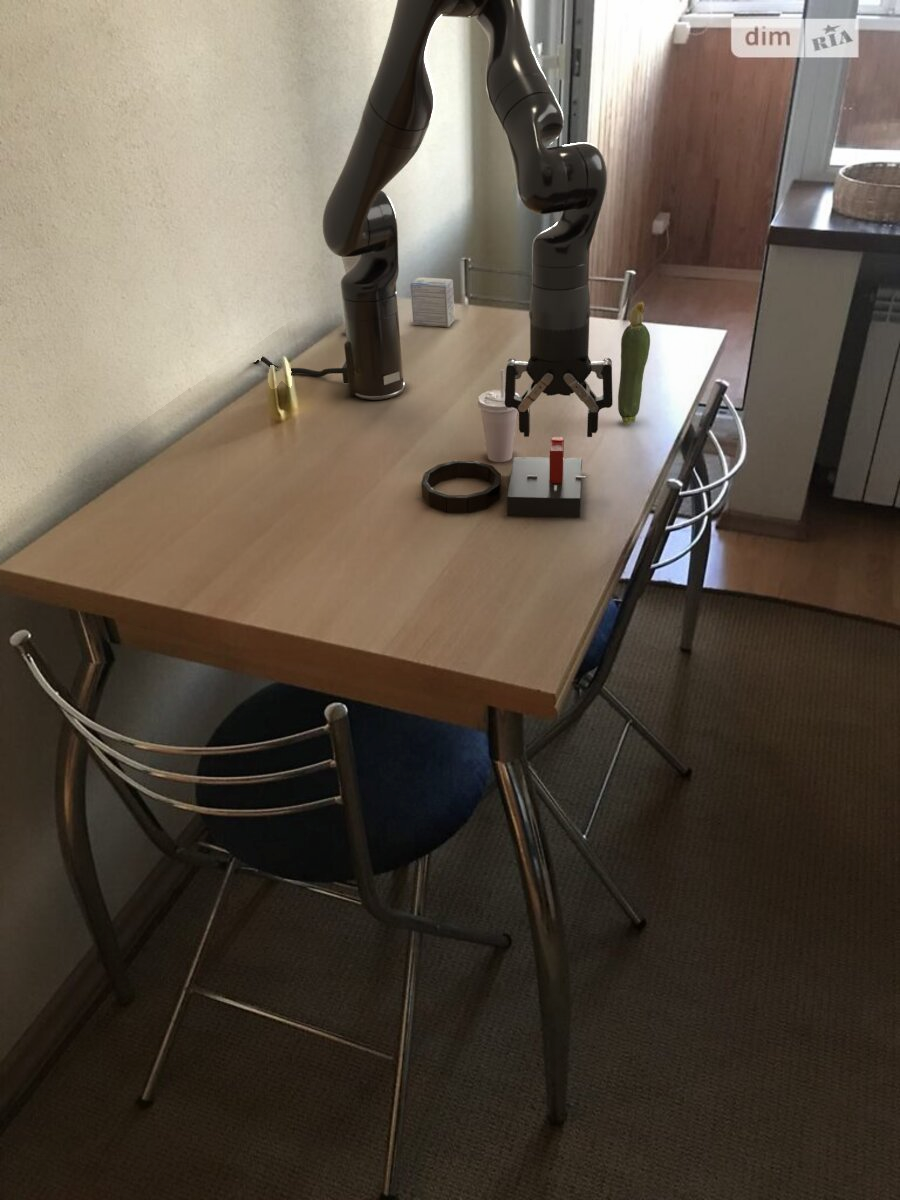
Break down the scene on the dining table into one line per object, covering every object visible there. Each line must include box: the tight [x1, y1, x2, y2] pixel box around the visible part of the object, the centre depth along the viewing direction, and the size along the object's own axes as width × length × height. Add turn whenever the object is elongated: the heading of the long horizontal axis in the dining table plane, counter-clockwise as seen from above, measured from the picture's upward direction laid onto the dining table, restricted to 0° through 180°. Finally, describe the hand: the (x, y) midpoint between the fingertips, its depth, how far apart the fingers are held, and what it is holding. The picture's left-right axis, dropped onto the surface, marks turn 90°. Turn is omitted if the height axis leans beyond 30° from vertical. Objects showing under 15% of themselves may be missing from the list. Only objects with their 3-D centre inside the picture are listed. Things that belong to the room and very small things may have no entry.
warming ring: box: [420, 459, 503, 514], centre depth 137 cm, size 11×11×2 cm
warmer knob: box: [549, 436, 565, 483], centre depth 132 cm, size 4×2×5 cm, turn 172°
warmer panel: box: [506, 456, 587, 518], centre depth 135 cm, size 11×12×3 cm
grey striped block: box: [409, 277, 456, 328], centre depth 195 cm, size 8×4×9 cm, turn 71°
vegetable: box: [617, 300, 651, 426], centre depth 149 cm, size 4×4×20 cm
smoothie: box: [477, 368, 520, 463], centre depth 142 cm, size 6×6×14 cm
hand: (557, 434), depth 130 cm, fingers open, 8 cm apart
